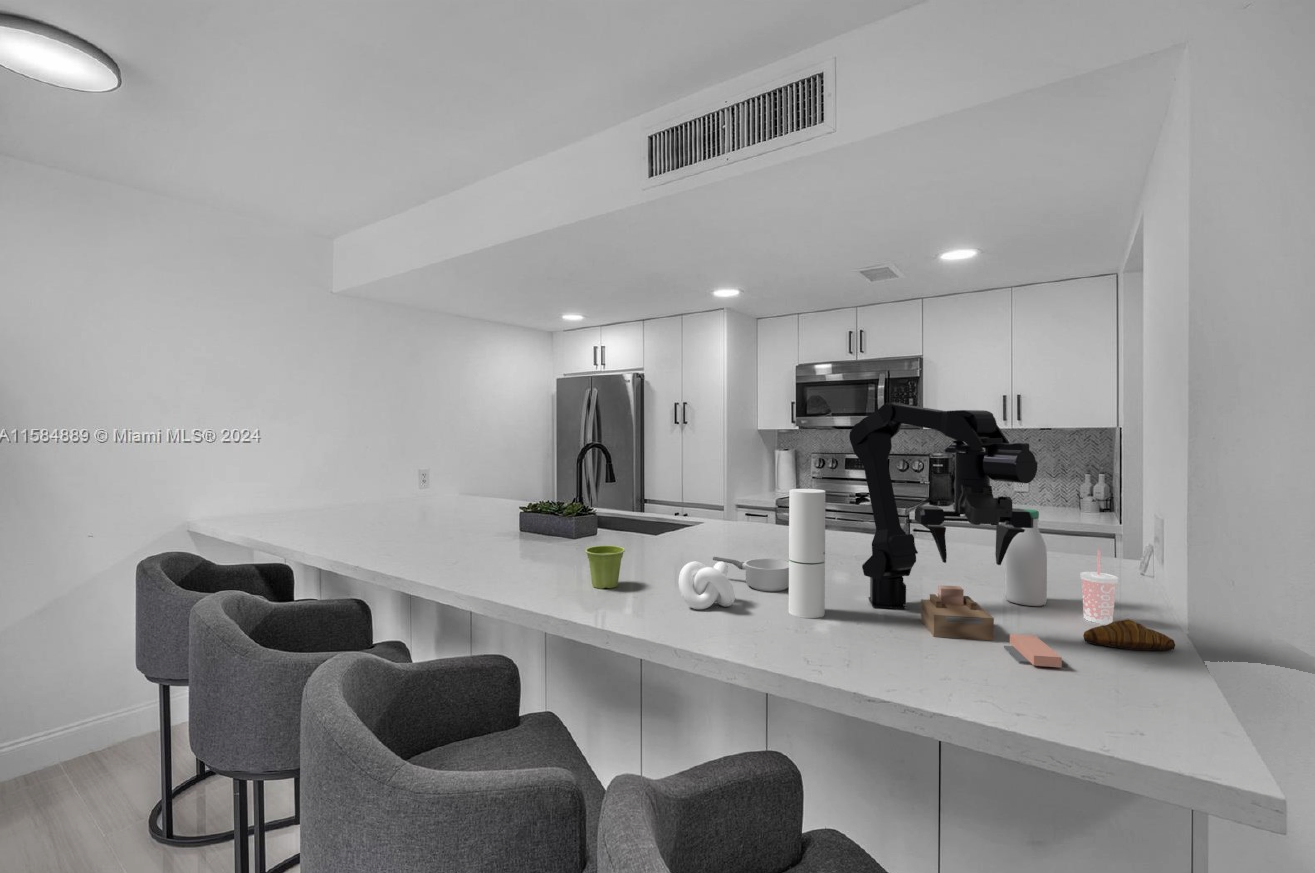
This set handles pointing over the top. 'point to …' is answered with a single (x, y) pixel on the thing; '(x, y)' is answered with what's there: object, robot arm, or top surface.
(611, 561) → the plant pot
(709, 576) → the white decorative knot
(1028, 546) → the milk bottle
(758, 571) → the saucepan
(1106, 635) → the croissant
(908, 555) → the robot arm
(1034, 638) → the salmon pink rectangular block
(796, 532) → the cylindrical container
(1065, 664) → the pad
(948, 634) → the dispenser
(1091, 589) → the beverage cup
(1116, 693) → the top surface
